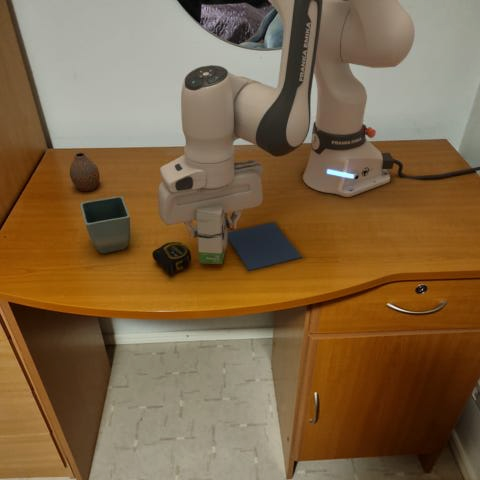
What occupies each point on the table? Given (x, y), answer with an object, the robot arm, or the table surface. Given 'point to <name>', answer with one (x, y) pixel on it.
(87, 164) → the vase
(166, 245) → the tape measure
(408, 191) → the table surface
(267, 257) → the cloth
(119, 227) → the flower pot
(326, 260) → the table surface
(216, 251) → the ink box
